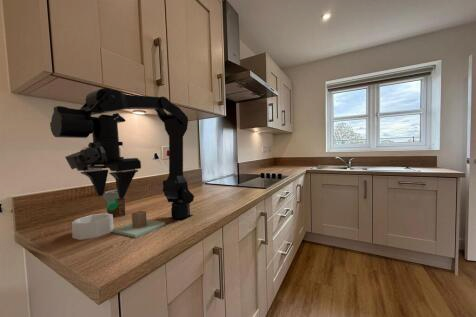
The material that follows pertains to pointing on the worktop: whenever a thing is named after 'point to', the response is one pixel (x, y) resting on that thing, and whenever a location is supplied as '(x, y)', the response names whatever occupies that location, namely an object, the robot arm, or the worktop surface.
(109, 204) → the food container
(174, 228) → the worktop surface
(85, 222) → the bowl
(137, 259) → the worktop surface
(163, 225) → the mat
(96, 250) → the worktop surface
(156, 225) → the lid
